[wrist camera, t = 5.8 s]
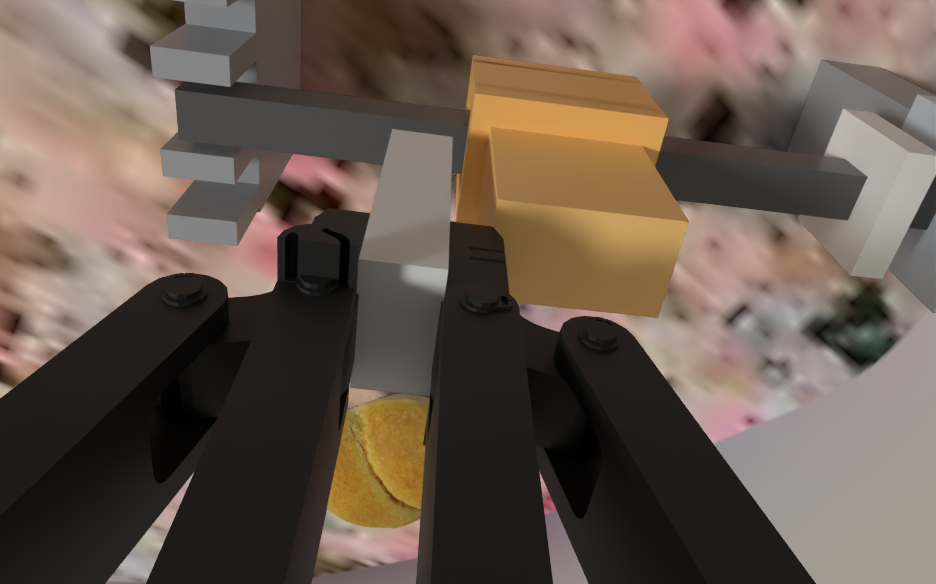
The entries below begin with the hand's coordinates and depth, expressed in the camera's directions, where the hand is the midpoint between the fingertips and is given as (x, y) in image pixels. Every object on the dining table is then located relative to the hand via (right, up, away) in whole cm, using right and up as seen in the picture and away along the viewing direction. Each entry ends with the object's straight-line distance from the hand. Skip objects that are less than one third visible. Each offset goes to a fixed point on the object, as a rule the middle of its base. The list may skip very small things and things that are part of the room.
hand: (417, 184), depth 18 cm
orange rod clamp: (+4, +2, +5) cm, 6 cm away
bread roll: (-3, -11, +22) cm, 24 cm away
